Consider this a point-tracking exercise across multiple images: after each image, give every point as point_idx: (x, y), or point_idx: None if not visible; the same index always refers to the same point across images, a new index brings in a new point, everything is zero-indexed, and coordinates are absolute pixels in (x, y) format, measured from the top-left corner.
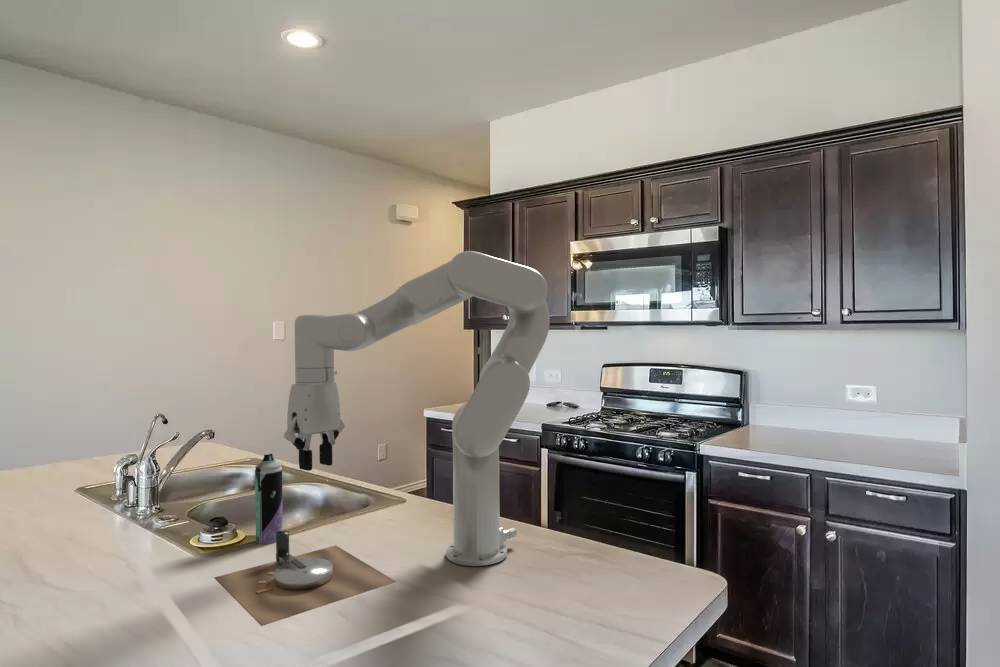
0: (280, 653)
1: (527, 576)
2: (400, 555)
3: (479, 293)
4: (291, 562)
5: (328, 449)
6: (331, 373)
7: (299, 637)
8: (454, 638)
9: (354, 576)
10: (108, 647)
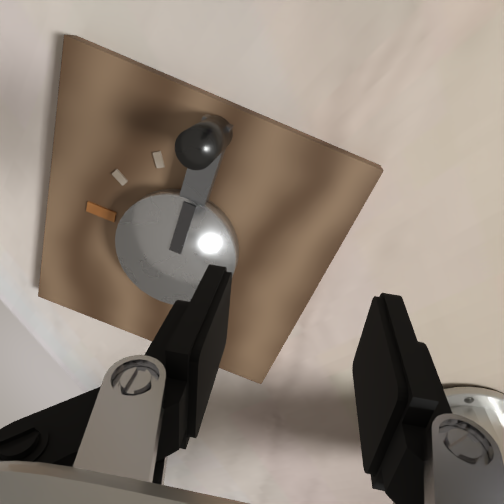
0: (43, 335)
1: None
2: (414, 312)
3: None
4: (180, 206)
5: (362, 453)
6: None
7: (79, 332)
8: (189, 466)
9: (242, 317)
10: None
